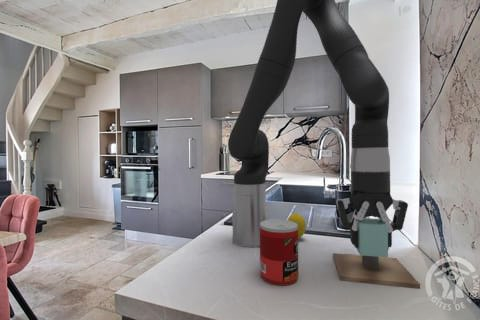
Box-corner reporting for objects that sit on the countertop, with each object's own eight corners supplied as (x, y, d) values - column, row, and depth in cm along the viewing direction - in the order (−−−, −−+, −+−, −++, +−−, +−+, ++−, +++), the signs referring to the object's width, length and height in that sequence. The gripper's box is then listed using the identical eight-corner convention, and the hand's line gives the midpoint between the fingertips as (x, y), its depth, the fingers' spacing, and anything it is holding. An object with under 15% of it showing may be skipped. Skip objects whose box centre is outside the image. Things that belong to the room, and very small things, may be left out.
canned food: (290, 290, 46) (290, 231, 46) (253, 279, 50) (252, 225, 50) (303, 273, 52) (303, 221, 52) (269, 265, 56) (268, 217, 56)
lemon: (306, 242, 70) (306, 215, 70) (286, 241, 72) (286, 214, 71) (305, 236, 76) (305, 210, 76) (287, 235, 77) (286, 210, 77)
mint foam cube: (360, 255, 51) (359, 223, 51) (355, 246, 56) (354, 217, 56) (388, 257, 50) (387, 225, 50) (380, 248, 55) (379, 218, 55)
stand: (339, 280, 49) (339, 241, 49) (332, 256, 61) (332, 224, 61) (420, 288, 46) (420, 246, 46) (396, 261, 57) (396, 228, 57)
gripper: (336, 170, 51) (337, 251, 51) (415, 170, 48) (416, 257, 48) (332, 168, 58) (333, 239, 59) (400, 168, 55) (401, 243, 55)
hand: (370, 247), depth 53 cm, fingers closed on mint foam cube, 5 cm apart
